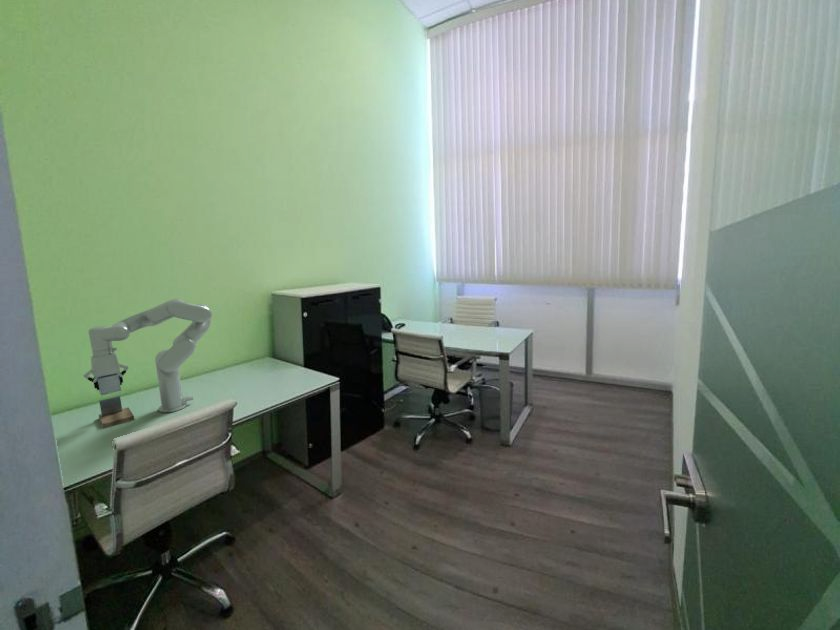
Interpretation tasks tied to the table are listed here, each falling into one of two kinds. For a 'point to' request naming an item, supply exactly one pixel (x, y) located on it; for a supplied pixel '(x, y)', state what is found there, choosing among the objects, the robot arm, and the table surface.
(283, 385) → the table surface
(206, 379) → the table surface
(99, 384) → the medicine box
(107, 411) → the wooden display stand
